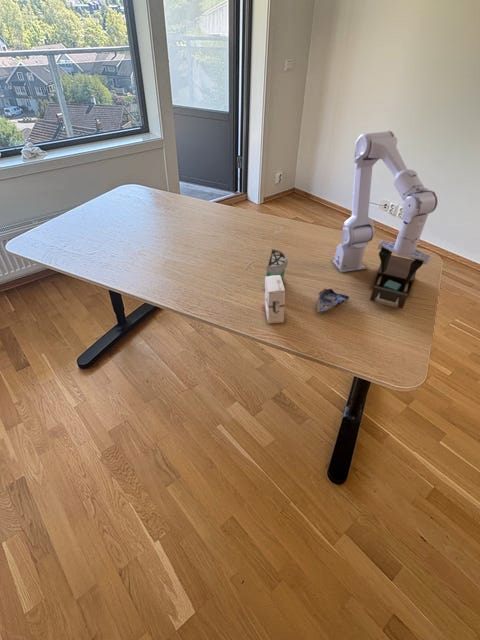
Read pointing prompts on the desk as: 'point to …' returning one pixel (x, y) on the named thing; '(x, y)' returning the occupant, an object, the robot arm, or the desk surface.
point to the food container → (277, 263)
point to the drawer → (390, 292)
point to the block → (392, 285)
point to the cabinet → (397, 270)
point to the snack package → (329, 300)
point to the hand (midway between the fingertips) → (395, 275)
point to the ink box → (274, 299)
